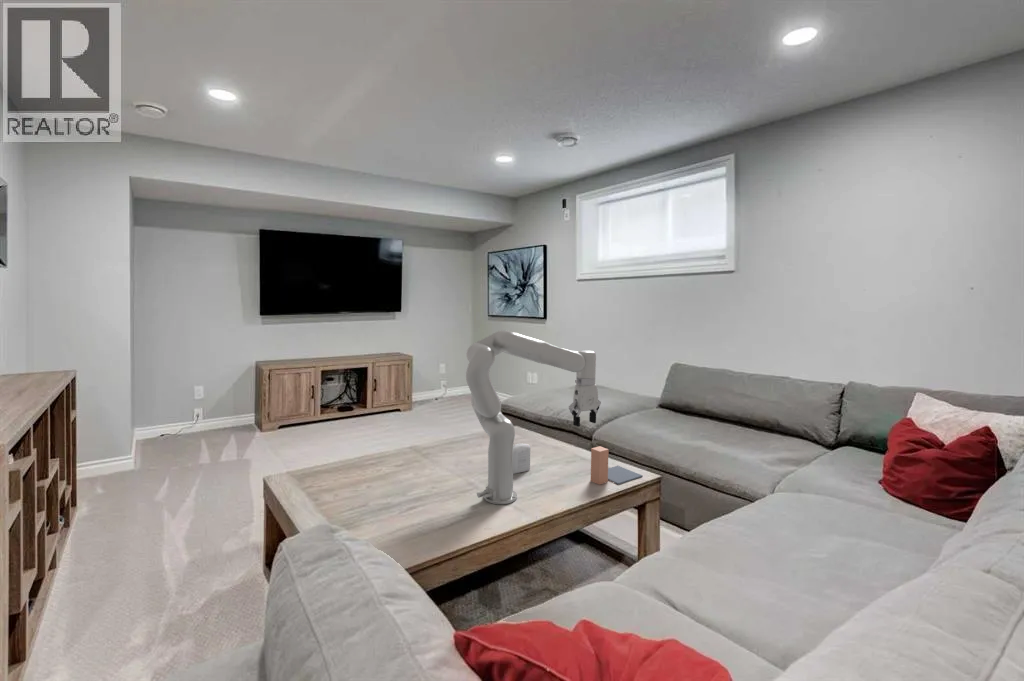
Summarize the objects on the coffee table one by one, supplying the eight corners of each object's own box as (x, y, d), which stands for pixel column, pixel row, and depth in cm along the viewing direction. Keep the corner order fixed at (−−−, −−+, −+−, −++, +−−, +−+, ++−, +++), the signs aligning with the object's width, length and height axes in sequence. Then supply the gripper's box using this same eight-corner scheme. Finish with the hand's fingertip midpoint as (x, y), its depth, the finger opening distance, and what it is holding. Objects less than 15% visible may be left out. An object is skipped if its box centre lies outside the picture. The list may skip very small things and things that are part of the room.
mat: (618, 484, 197) (618, 483, 197) (594, 473, 208) (594, 472, 208) (642, 476, 205) (642, 475, 205) (617, 466, 217) (617, 465, 217)
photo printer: (526, 467, 216) (526, 440, 214) (531, 470, 212) (531, 443, 211) (506, 472, 210) (507, 444, 209) (512, 475, 206) (512, 447, 205)
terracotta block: (599, 484, 197) (600, 451, 195) (590, 480, 201) (591, 448, 199) (607, 481, 200) (608, 449, 198) (599, 478, 204) (599, 446, 202)
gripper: (576, 385, 183) (575, 429, 185) (607, 380, 193) (606, 423, 195) (563, 382, 189) (562, 425, 191) (594, 378, 199) (593, 419, 201)
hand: (584, 424), depth 193 cm, fingers open, 8 cm apart
